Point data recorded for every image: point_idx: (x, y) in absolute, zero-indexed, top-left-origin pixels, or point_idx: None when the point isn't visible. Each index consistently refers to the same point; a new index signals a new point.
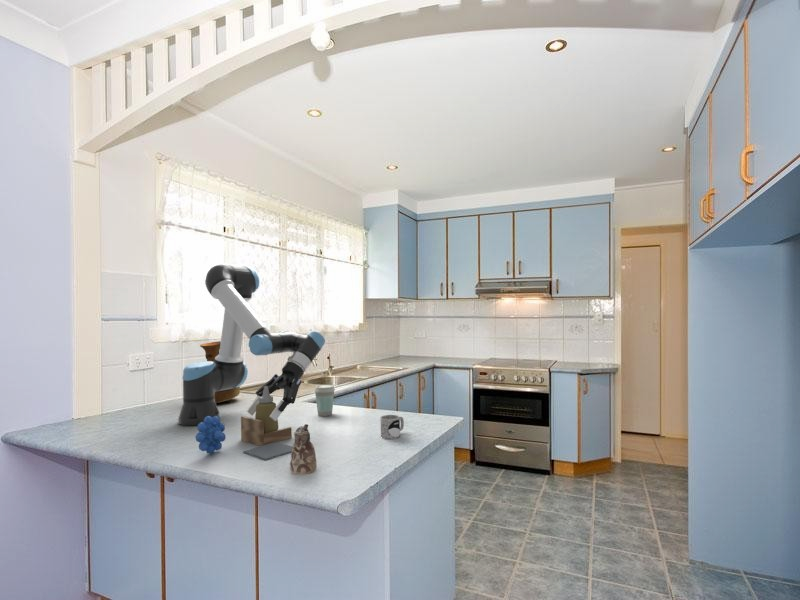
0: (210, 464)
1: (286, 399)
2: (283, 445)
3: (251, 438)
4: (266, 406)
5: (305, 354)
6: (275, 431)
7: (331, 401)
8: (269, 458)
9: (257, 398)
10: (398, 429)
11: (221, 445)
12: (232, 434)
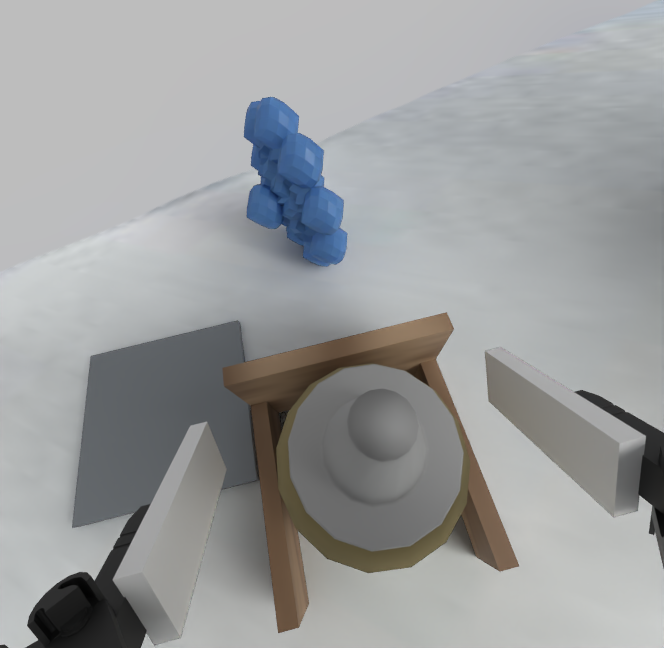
0: (210, 226)
1: (54, 645)
2: None
3: None
4: (285, 424)
5: None
6: (263, 485)
7: None
8: (91, 372)
9: (586, 422)
10: None
11: (304, 256)
12: (545, 356)
